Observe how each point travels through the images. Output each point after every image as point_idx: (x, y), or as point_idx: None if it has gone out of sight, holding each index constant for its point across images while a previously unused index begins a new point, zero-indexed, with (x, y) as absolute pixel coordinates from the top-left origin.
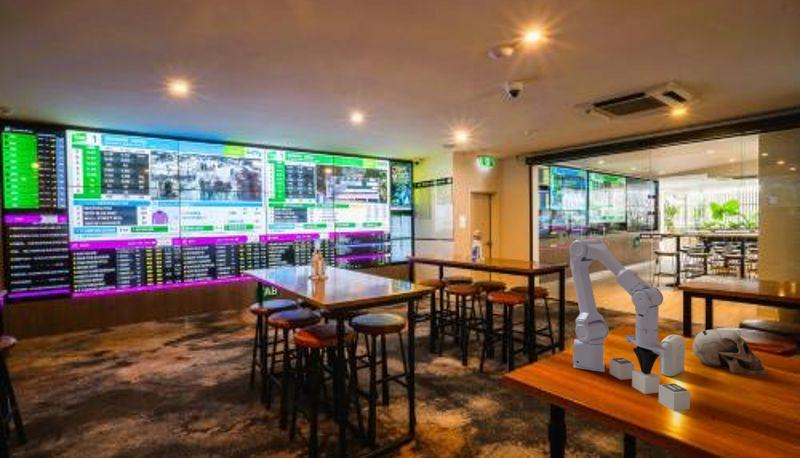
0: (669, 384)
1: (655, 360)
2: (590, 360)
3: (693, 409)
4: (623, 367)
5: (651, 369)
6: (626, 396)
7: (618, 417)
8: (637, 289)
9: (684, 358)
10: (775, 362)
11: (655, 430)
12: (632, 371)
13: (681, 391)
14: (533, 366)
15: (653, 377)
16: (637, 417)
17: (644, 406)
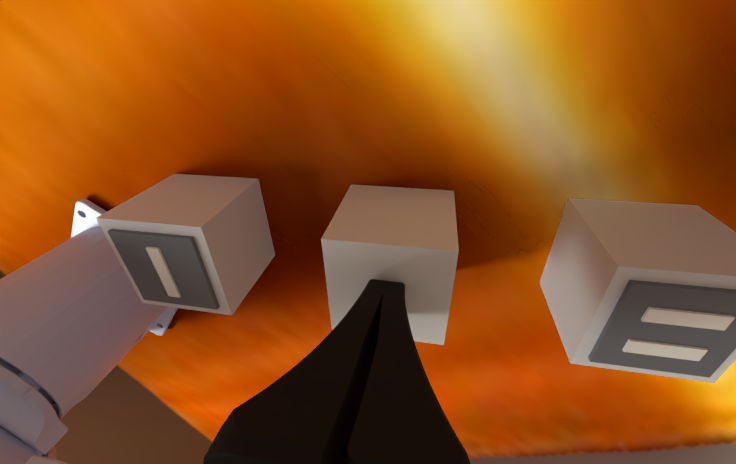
0: (618, 321)
1: (426, 376)
2: (143, 332)
3: (720, 188)
4: (238, 285)
5: (405, 304)
6: (438, 347)
7: (552, 451)
8: None
9: None
10: None
11: (686, 440)
12: (334, 326)
13: None
14: (174, 406)
15: (451, 294)
16: (586, 421)
17: (539, 355)
